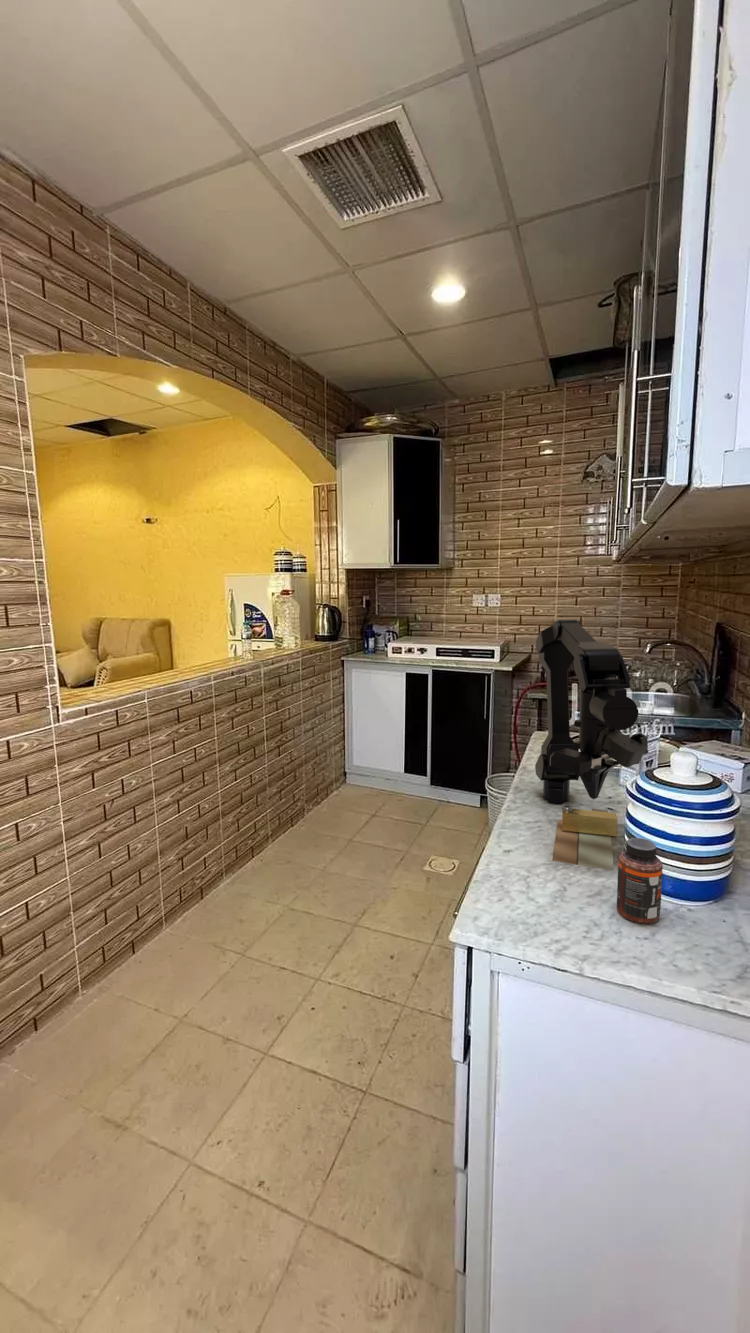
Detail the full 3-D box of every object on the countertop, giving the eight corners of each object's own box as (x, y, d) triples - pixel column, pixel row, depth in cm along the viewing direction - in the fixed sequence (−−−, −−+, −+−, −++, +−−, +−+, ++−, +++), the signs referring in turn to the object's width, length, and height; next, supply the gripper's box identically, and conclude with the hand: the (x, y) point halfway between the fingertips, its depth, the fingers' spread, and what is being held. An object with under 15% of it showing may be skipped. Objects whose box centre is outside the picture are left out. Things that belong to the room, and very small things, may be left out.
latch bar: (562, 830, 105) (562, 809, 104) (561, 823, 107) (562, 803, 107) (616, 836, 102) (617, 815, 101) (615, 829, 104) (616, 809, 104)
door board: (557, 825, 110) (557, 819, 110) (609, 832, 107) (609, 826, 106) (552, 866, 94) (552, 860, 94) (613, 876, 90) (613, 870, 90)
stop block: (591, 824, 107) (591, 808, 107) (607, 827, 106) (607, 810, 106) (591, 828, 106) (591, 811, 105) (607, 830, 105) (608, 813, 104)
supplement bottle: (665, 927, 76) (670, 854, 75) (621, 923, 78) (625, 851, 76) (652, 904, 82) (656, 835, 81) (612, 900, 83) (615, 833, 82)
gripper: (605, 733, 84) (602, 826, 86) (668, 717, 94) (664, 800, 96) (548, 720, 93) (547, 804, 96) (611, 706, 103) (608, 783, 106)
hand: (593, 798), depth 98 cm, fingers closed
